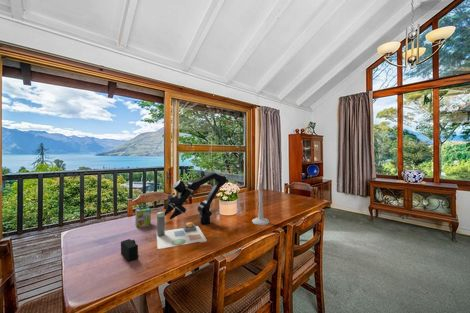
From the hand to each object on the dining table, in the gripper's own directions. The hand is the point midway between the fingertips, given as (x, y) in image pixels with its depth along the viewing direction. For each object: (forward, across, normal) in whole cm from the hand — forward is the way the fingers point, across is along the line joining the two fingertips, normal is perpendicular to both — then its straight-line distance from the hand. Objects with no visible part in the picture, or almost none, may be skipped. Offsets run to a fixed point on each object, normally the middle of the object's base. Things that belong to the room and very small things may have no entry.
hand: (167, 217), depth 125 cm
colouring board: (+4, +9, +11) cm, 15 cm away
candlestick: (-36, +24, +51) cm, 67 cm away
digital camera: (+25, +14, -9) cm, 30 cm away
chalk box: (+13, -26, +3) cm, 29 cm away
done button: (-4, +4, +16) cm, 17 cm away
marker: (+10, 0, +5) cm, 11 cm away
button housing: (-2, +4, +17) cm, 18 cm away
